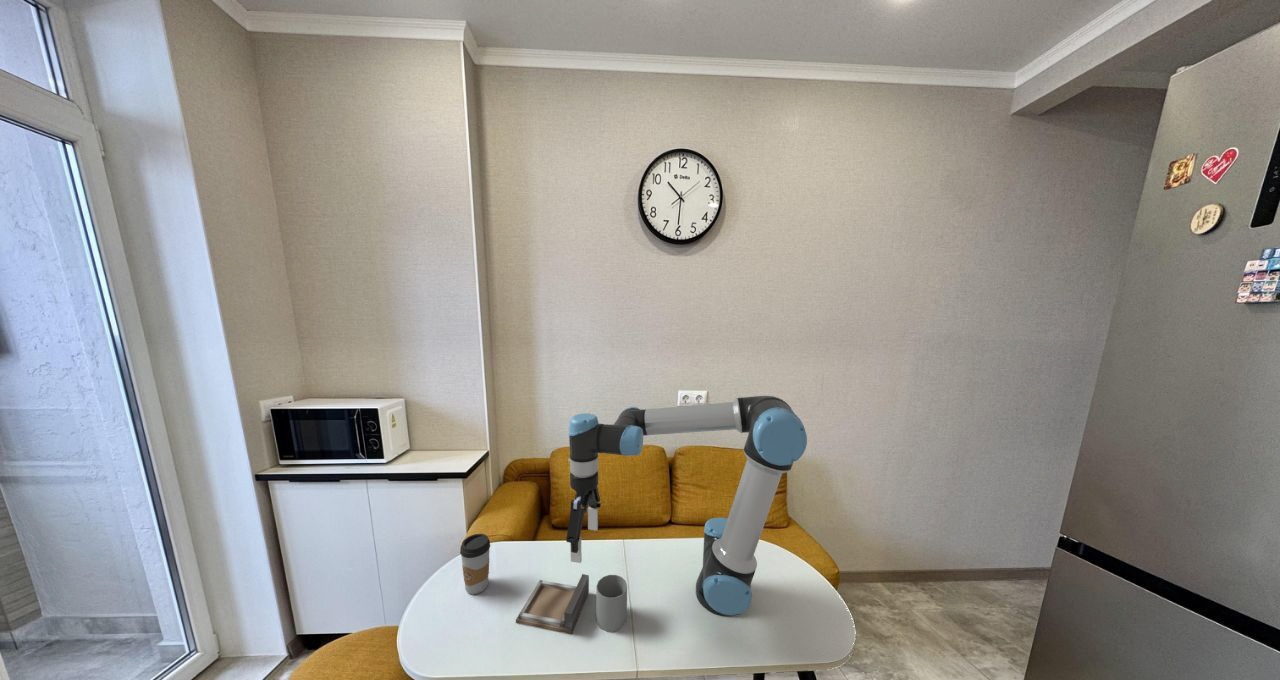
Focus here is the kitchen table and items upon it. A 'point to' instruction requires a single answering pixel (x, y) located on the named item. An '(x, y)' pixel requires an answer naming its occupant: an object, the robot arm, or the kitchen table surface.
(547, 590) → the brown flat tray-like piece
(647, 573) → the kitchen table surface
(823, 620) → the kitchen table surface
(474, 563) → the coffee cup
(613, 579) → the cup
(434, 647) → the kitchen table surface
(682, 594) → the kitchen table surface
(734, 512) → the robot arm
